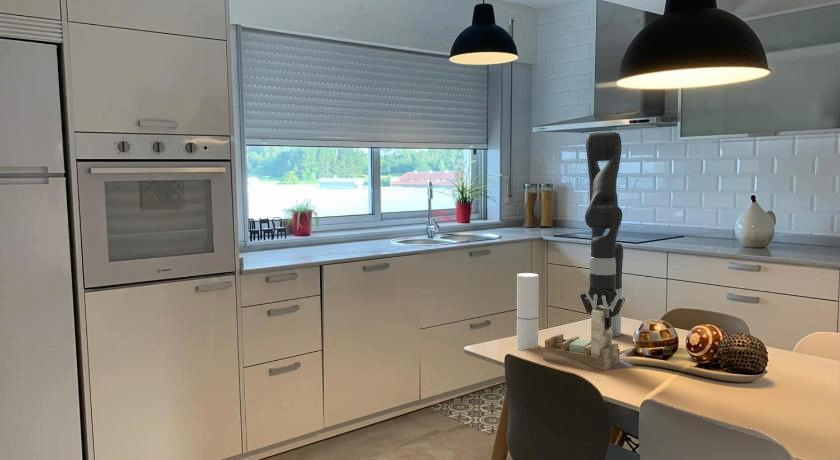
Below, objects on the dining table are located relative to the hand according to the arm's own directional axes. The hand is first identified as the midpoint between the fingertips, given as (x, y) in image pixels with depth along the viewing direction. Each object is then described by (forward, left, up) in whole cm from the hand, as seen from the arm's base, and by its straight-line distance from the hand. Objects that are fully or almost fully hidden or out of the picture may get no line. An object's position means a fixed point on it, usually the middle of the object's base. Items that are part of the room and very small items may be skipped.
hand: (601, 328), depth 196 cm
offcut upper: (0, -7, -8) cm, 11 cm away
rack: (0, -6, -12) cm, 14 cm away
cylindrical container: (-5, -28, -13) cm, 31 cm away
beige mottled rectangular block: (0, 0, -9) cm, 9 cm away
